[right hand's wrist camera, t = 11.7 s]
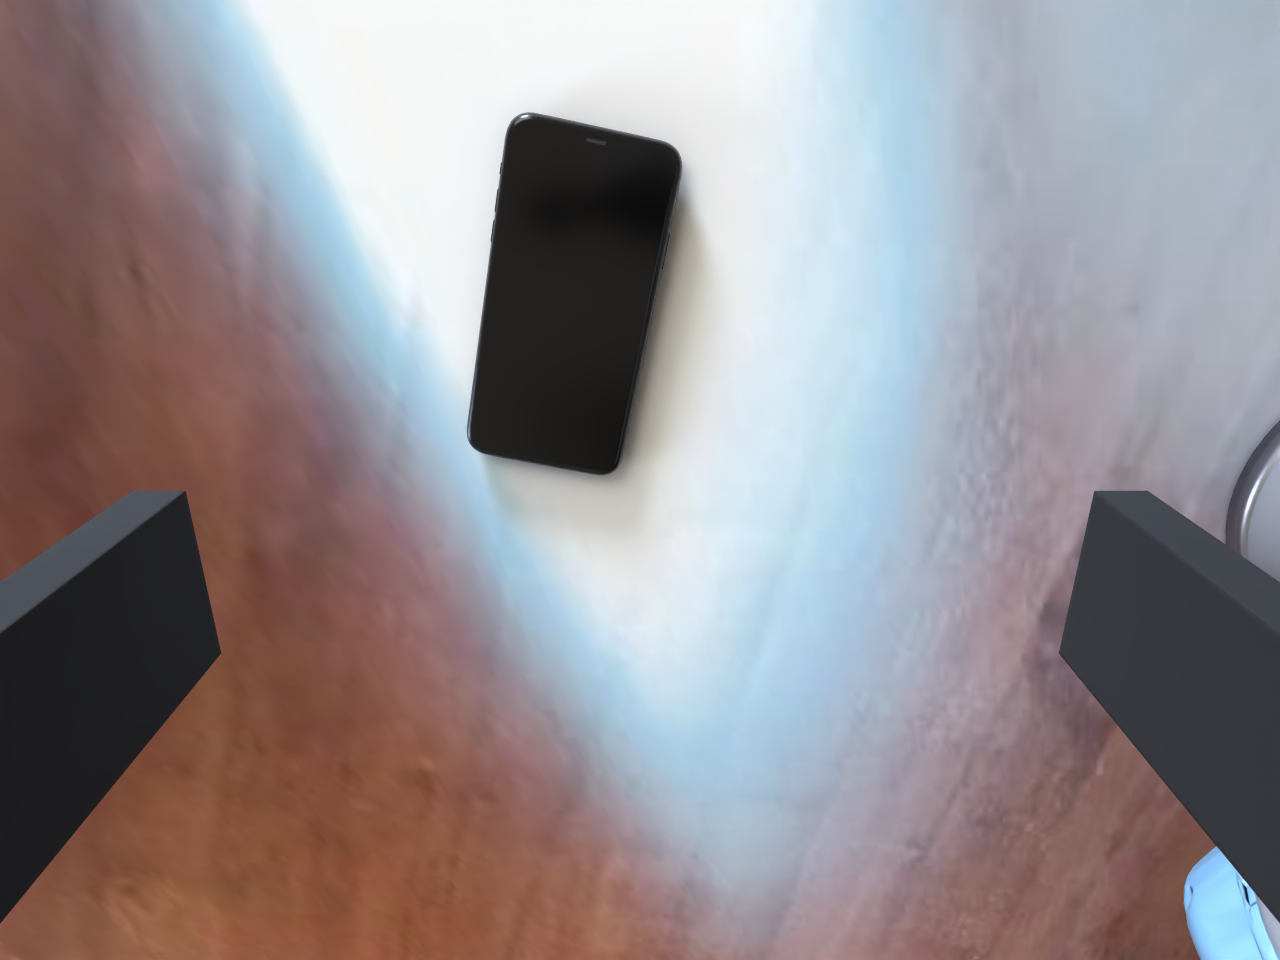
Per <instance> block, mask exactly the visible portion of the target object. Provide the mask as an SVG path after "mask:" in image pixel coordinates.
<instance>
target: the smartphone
mask: <svg viewBox="0 0 1280 960" xmlns="http://www.w3.org/2000/svg"><path fill="white" fill-rule="evenodd" d="M681 174H682V160H681V157H680V154H679V152H678V151H677V150H676V149H675V148H674V147H673V146H672V145H671V144H669V143H667V142H664V141H661V140H657V139H652V138H648V137H643V136H639V135H634V134H630V133H625V132H621V131H616V130H612V129H607V128H603V127H598V126H594V125H589V124H584V123H580V122H575V121H571V120H566V119H561V118H557V117H552V116H547V115H543V114H538V113H523V114H520V115H518V116H516V117H515V118H514V119H513V120H512V121H511V123H510V124H509V126H508V129H507V132H506V136H505V143H504V150H503V158H502V162H501V167H500V181H499V188H498V190H497V197H496V205H495V219H494V221H493V228H492V235H491V249H490V257H489V264H488V272H487V279H486V287H485V295H484V302H483V310H482V317H481V325H480V333H479V340H478V348H477V355H476V363H475V371H474V378H473V386H472V393H471V401H470V409H469V416H468V424H467V437H468V440H469V443H470V444H471V446H472V447H473V448H474V449H475V450H477V451H479V452H481V453H483V454H487V455H492V456H497V457H502V458H507V459H513V460H518V461H523V462H529V463H534V464H539V465H544V466H550V467H555V468H560V469H566V470H571V471H577V472H582V473H588V474H593V475H607V474H610V473H612V472H614V471H615V470H616V469H617V468H618V466H619V465H620V463H621V460H622V457H623V453H624V448H625V443H626V438H627V434H628V429H629V424H630V419H631V414H632V410H633V405H634V400H635V395H636V391H637V386H638V381H639V376H640V371H641V367H642V362H643V357H644V352H645V347H646V343H647V338H648V333H649V328H650V323H651V319H652V314H653V309H654V304H655V299H656V295H657V290H658V285H659V280H660V276H661V271H662V269H663V265H664V260H665V255H666V250H667V246H668V241H669V236H670V233H669V232H670V228H671V223H672V218H673V213H674V208H675V204H676V199H677V194H678V189H679V184H680V180H681Z"/></svg>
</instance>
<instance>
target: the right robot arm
mask: <svg viewBox="0 0 1280 960" xmlns="http://www.w3.org/2000/svg"><path fill="white" fill-rule="evenodd" d="M1226 543H1227V545H1225V544H1224V543H1222V542H1221V541H1219V540H1218V539H1216V538H1215V537H1214V536H1212V535H1211V534H1209V533H1208V532H1206V531H1205V530H1203V529H1202V528H1200V527H1199V526H1198V525H1196V524H1195V523H1193V522H1192V521H1190V520H1189V519H1187V518H1186V517H1185V516H1183V515H1182V514H1180V513H1179V512H1177V511H1176V510H1174V509H1173V508H1171V507H1170V506H1169V505H1167V504H1166V503H1164V502H1163V501H1161V500H1160V499H1158V498H1157V497H1156V496H1154V495H1153V494H1151V493H1150V492H1148V491H1094V495H1093V500H1092V504H1091V509H1090V513H1089V518H1088V523H1087V527H1086V532H1085V536H1084V541H1083V545H1082V550H1081V555H1080V559H1079V564H1078V568H1077V573H1076V577H1075V582H1074V587H1073V591H1072V596H1071V600H1070V605H1069V609H1068V614H1067V619H1066V623H1065V628H1064V632H1063V637H1062V641H1061V646H1060V651H1059V654H1060V655H1061V656H1062V658H1063V659H1064V660H1065V661H1066V663H1067V664H1068V665H1069V666H1070V668H1071V669H1072V670H1073V671H1074V672H1075V674H1076V675H1077V676H1078V677H1079V679H1080V680H1081V681H1082V682H1083V683H1084V685H1085V686H1086V687H1087V688H1088V690H1089V691H1090V692H1091V693H1092V694H1093V696H1094V697H1095V698H1096V699H1097V701H1098V702H1099V703H1100V704H1101V705H1102V707H1103V708H1104V709H1105V710H1106V712H1107V713H1108V714H1109V715H1110V716H1111V718H1112V719H1113V720H1114V721H1115V723H1116V724H1117V725H1118V726H1119V727H1120V729H1121V730H1122V731H1123V732H1124V734H1125V735H1126V736H1127V737H1128V738H1129V740H1130V741H1131V742H1132V743H1133V745H1134V746H1135V747H1136V748H1137V749H1138V751H1139V752H1140V753H1141V754H1142V756H1143V757H1144V758H1145V759H1146V760H1147V762H1148V763H1149V764H1150V765H1151V767H1152V768H1153V769H1154V770H1155V771H1156V773H1157V774H1158V775H1159V776H1160V778H1161V779H1162V780H1163V781H1164V782H1165V784H1166V785H1167V786H1168V787H1169V789H1170V790H1171V791H1172V792H1173V793H1174V795H1175V796H1176V797H1177V798H1178V800H1179V801H1180V802H1181V803H1182V804H1183V806H1184V807H1185V808H1186V809H1187V811H1188V812H1189V813H1190V814H1191V815H1192V817H1193V818H1194V819H1195V820H1196V822H1197V823H1198V824H1199V825H1200V826H1201V828H1202V829H1203V830H1204V831H1205V833H1206V834H1207V835H1208V836H1209V837H1210V839H1211V840H1212V841H1213V842H1214V844H1215V845H1216V847H1215V848H1214V849H1212V850H1211V851H1210V852H1209V853H1208V854H1207V855H1205V856H1204V857H1203V858H1202V859H1201V860H1200V861H1199V862H1198V863H1197V864H1196V865H1195V866H1194V867H1193V868H1192V870H1191V871H1190V873H1189V875H1188V877H1187V879H1186V882H1185V886H1184V907H1185V911H1186V918H1187V925H1188V928H1189V931H1190V934H1191V937H1192V940H1193V943H1194V945H1195V948H1196V950H1197V952H1198V955H1199V957H1200V959H1201V960H1280V421H1279V422H1278V423H1277V424H1276V425H1275V426H1274V427H1273V428H1272V430H1271V431H1270V432H1269V433H1268V434H1267V435H1266V436H1265V438H1264V439H1263V440H1262V441H1261V443H1260V444H1259V445H1258V447H1257V448H1256V449H1255V451H1254V452H1253V454H1252V456H1251V457H1250V459H1249V460H1248V462H1247V463H1246V465H1245V467H1244V469H1243V471H1242V473H1241V475H1240V477H1239V479H1238V482H1237V484H1236V486H1235V489H1234V492H1233V495H1232V498H1231V501H1230V505H1229V510H1228V515H1227V524H1226ZM220 654H221V651H220V646H219V641H218V637H217V632H216V628H215V623H214V619H213V614H212V609H211V605H210V600H209V596H208V591H207V587H206V582H205V577H204V573H203V568H202V564H201V559H200V555H199V550H198V545H197V541H196V536H195V532H194V527H193V523H192V518H191V513H190V509H189V504H188V500H187V495H186V491H132V492H130V493H129V494H127V495H126V496H124V497H123V498H122V499H120V500H119V501H117V502H116V503H114V504H113V505H111V506H110V507H109V508H107V509H106V510H104V511H103V512H101V513H100V514H98V515H97V516H95V517H94V518H93V519H91V520H90V521H88V522H87V523H85V524H84V525H82V526H81V527H80V528H78V529H77V530H75V531H74V532H72V533H71V534H69V535H68V536H66V537H65V538H64V539H62V540H61V541H59V542H58V543H56V544H55V545H53V546H52V547H51V548H49V549H48V550H46V551H45V552H43V553H42V554H40V555H39V556H37V557H36V558H35V559H33V560H32V561H30V562H29V563H27V564H26V565H24V566H23V567H21V568H20V569H19V570H17V571H16V572H14V573H13V574H11V575H10V576H8V577H7V578H6V579H4V580H3V581H1V582H0V923H1V922H2V921H3V919H4V918H5V917H6V916H7V915H8V913H9V912H10V911H11V910H12V908H13V907H14V906H15V905H16V904H17V902H18V901H19V900H20V899H21V897H22V896H23V895H24V894H25V893H26V891H27V890H28V889H29V888H30V886H31V885H32V884H33V883H34V882H35V880H36V879H37V878H38V877H39V875H40V874H41V873H42V872H43V871H44V869H45V868H46V867H47V866H48V864H49V863H50V862H51V861H52V860H53V858H54V857H55V856H56V855H57V853H58V852H59V851H60V850H61V848H62V847H63V846H64V845H65V844H66V842H67V841H68V840H69V839H70V837H71V836H72V835H73V834H74V833H75V831H76V830H77V829H78V828H79V826H80V825H81V824H82V823H83V822H84V820H85V819H86V818H87V817H88V815H89V814H90V813H91V812H92V811H93V809H94V808H95V807H96V806H97V804H98V803H99V802H100V801H101V800H102V798H103V797H104V796H105V795H106V793H107V792H108V791H109V790H110V789H111V787H112V786H113V785H114V784H115V782H116V781H117V780H118V779H119V778H120V776H121V775H122V774H123V773H124V771H125V770H126V769H127V768H128V767H129V765H130V764H131V763H132V762H133V760H134V759H135V758H136V757H137V756H138V754H139V753H140V752H141V751H142V749H143V748H144V747H145V746H146V745H147V743H148V742H149V741H150V740H151V738H152V737H153V736H154V735H155V734H156V732H157V731H158V730H159V729H160V727H161V726H162V725H163V724H164V723H165V721H166V720H167V719H168V718H169V716H170V715H171V714H172V713H173V712H174V710H175V709H176V708H177V707H178V705H179V704H180V703H181V702H182V701H183V699H184V698H185V697H186V696H187V694H188V693H189V692H190V691H191V690H192V688H193V687H194V686H195V685H196V683H197V682H198V681H199V680H200V679H201V677H202V676H203V675H204V674H205V672H206V671H207V670H208V669H209V668H210V666H211V665H212V664H213V663H214V661H215V660H216V659H217V658H218V656H219V655H220Z"/></svg>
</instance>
